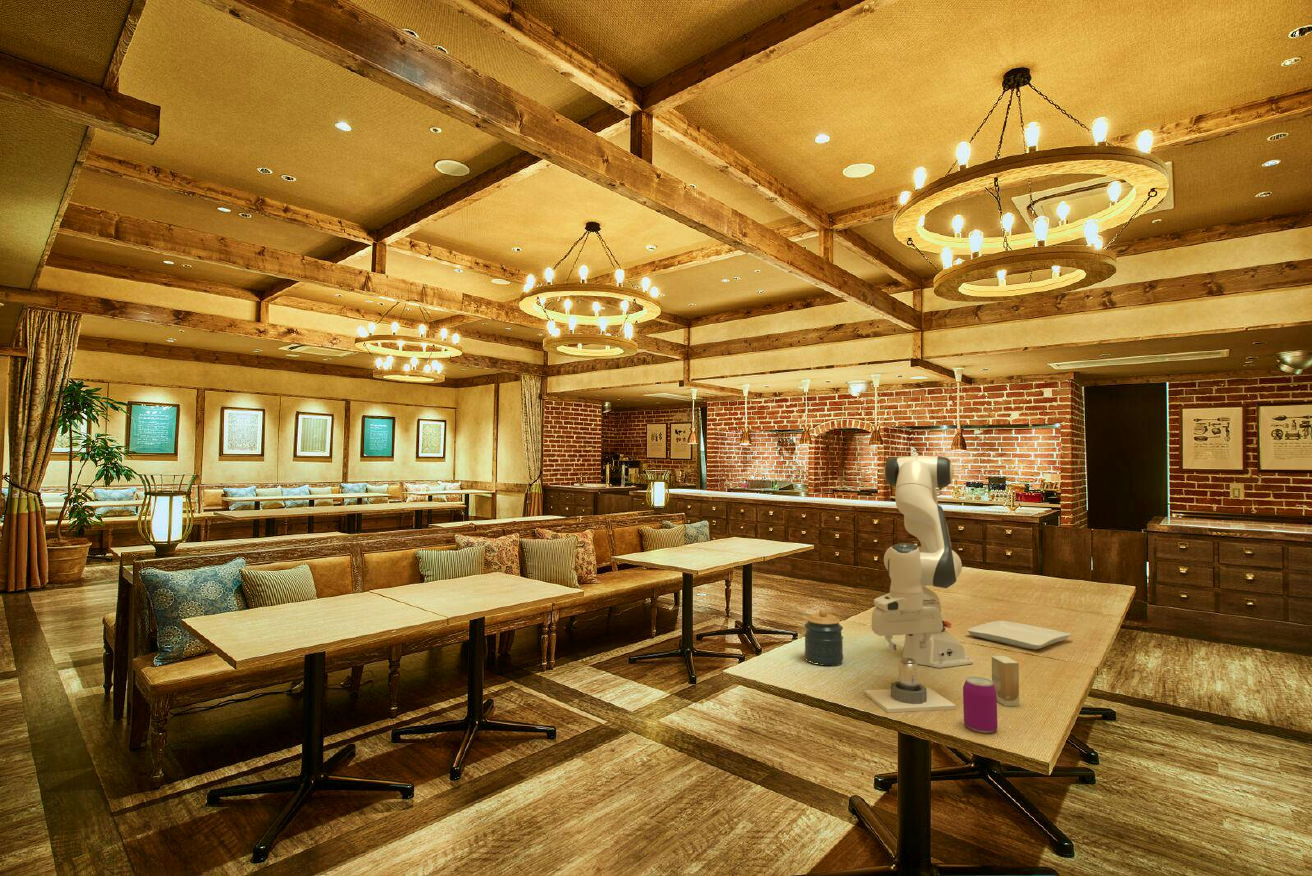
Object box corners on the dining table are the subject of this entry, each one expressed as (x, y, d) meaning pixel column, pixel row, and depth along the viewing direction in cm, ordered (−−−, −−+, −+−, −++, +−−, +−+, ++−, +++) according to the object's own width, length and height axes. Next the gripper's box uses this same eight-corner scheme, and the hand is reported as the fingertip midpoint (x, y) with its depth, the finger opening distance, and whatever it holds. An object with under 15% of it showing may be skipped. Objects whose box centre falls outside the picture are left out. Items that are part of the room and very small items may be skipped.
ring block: (927, 690, 182) (927, 677, 182) (956, 709, 168) (955, 694, 169) (864, 693, 180) (864, 680, 180) (887, 712, 166) (887, 697, 166)
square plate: (1072, 642, 233) (1072, 632, 233) (1039, 655, 217) (1039, 644, 218) (999, 627, 255) (999, 618, 255) (965, 638, 240) (964, 628, 240)
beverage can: (993, 737, 151) (992, 688, 151) (960, 728, 156) (958, 681, 157) (1001, 727, 157) (999, 680, 157) (968, 719, 162) (967, 673, 162)
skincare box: (991, 698, 176) (990, 655, 177) (1005, 697, 177) (1004, 655, 177) (1005, 707, 170) (1004, 662, 170) (1020, 706, 170) (1019, 662, 171)
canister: (800, 663, 208) (799, 611, 209) (809, 653, 220) (808, 603, 220) (839, 669, 202) (838, 615, 203) (846, 658, 213) (845, 607, 214)
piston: (912, 694, 177) (911, 657, 177) (921, 700, 172) (920, 662, 173) (896, 694, 176) (895, 657, 177) (905, 701, 172) (904, 663, 172)
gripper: (934, 596, 180) (935, 643, 180) (868, 600, 178) (869, 647, 177) (946, 601, 174) (948, 650, 173) (878, 605, 171) (880, 654, 171)
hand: (908, 649), depth 175 cm, fingers open, 8 cm apart
